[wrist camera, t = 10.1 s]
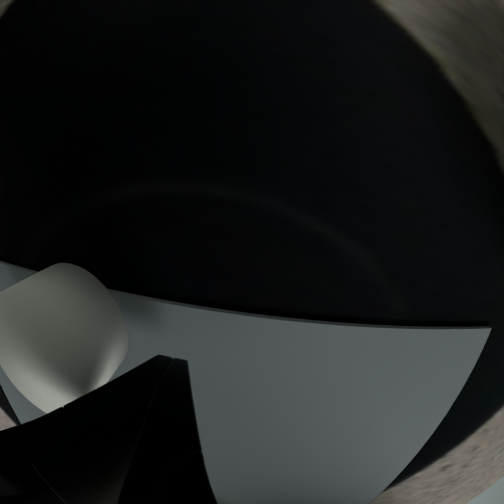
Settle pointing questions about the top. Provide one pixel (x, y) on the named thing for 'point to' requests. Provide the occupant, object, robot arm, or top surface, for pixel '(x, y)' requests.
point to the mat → (295, 394)
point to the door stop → (60, 335)
